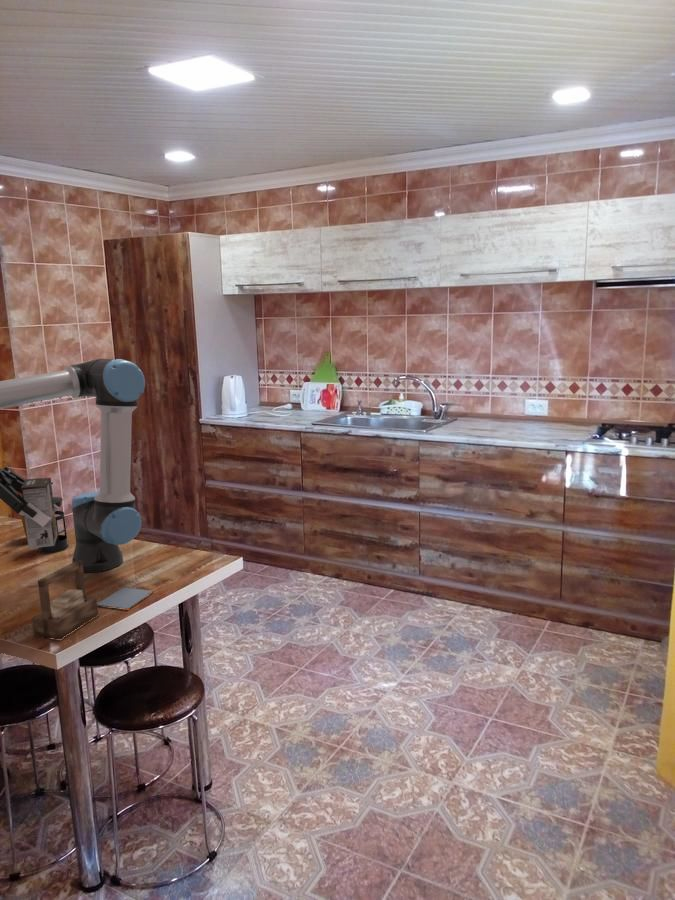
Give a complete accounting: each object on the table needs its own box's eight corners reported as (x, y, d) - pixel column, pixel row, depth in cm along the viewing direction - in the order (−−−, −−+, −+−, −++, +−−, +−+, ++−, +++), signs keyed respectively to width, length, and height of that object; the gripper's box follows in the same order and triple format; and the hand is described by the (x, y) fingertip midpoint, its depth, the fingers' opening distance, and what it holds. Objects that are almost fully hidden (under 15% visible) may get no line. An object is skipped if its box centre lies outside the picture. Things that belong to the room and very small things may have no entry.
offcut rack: (73, 612, 178) (67, 559, 175) (98, 616, 175) (92, 561, 172) (34, 636, 165) (26, 579, 162) (60, 641, 162) (53, 582, 159)
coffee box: (32, 538, 178) (24, 479, 175) (58, 535, 180) (51, 476, 177) (27, 549, 169) (19, 487, 166) (54, 546, 171) (47, 484, 168)
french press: (65, 541, 235) (58, 477, 231) (74, 548, 228) (67, 482, 223) (30, 549, 228) (22, 483, 224) (37, 556, 221) (29, 488, 216)
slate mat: (123, 589, 192) (123, 587, 192) (153, 593, 189) (153, 591, 189) (96, 606, 181) (96, 604, 181) (127, 610, 178) (127, 608, 178)
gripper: (-20, 463, 178) (50, 515, 184) (-49, 483, 157) (31, 541, 163) (-1, 442, 178) (69, 495, 184) (-28, 459, 157) (52, 518, 163)
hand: (51, 517), depth 174 cm, fingers closed on coffee box, 9 cm apart
